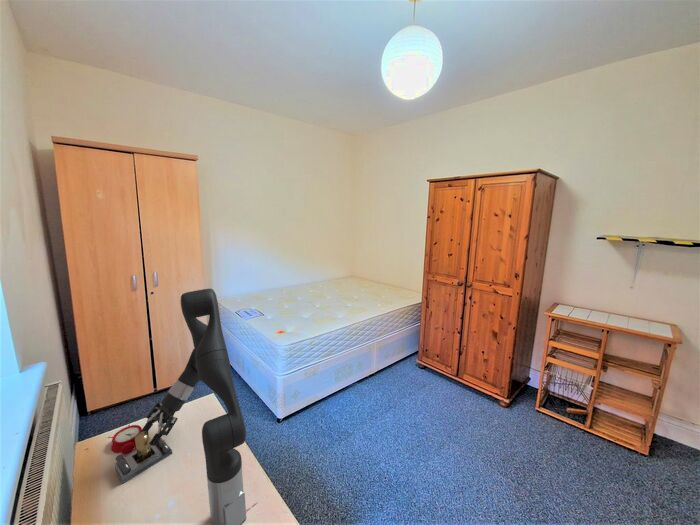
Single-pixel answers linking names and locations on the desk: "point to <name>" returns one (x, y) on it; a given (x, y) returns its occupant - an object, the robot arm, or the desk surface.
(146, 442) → the bronze pin
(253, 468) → the desk surface
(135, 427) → the alarm clock
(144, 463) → the grey roller frame base
